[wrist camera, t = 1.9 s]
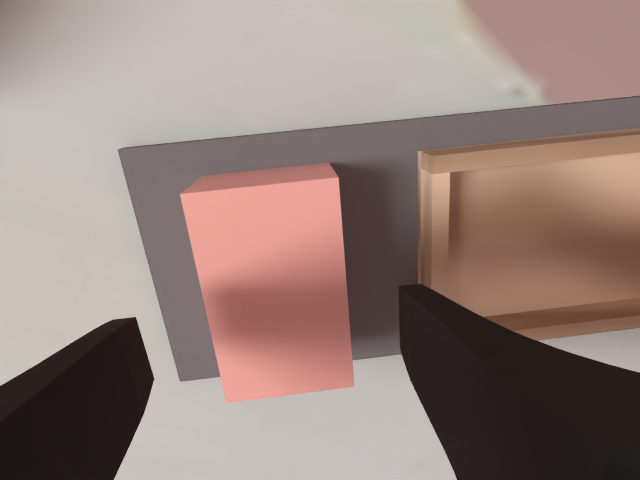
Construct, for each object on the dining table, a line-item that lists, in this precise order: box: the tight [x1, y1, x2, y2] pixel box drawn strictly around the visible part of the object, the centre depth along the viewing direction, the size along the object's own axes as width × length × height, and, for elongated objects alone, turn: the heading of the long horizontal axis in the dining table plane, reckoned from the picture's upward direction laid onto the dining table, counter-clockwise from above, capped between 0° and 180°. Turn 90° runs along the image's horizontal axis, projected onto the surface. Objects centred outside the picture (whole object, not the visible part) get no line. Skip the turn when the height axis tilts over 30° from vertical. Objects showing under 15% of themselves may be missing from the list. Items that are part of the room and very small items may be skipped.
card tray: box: [417, 127, 640, 340], centre depth 15 cm, size 8×11×2 cm
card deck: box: [180, 162, 354, 403], centre depth 14 cm, size 8×5×3 cm, turn 5°
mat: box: [118, 96, 640, 382], centre depth 16 cm, size 10×22×1 cm, turn 95°
